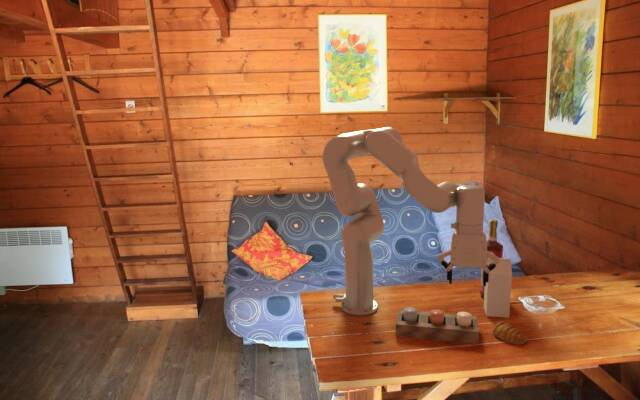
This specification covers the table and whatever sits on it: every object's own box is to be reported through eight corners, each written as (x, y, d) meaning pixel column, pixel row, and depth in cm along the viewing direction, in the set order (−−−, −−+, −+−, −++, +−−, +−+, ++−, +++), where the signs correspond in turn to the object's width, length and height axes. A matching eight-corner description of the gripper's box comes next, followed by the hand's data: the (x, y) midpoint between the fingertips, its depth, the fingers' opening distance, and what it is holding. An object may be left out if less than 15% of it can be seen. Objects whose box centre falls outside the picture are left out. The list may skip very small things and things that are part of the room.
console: (395, 336, 146) (395, 324, 145) (398, 320, 155) (398, 309, 154) (478, 344, 140) (478, 331, 139) (476, 327, 150) (476, 316, 149)
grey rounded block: (402, 324, 148) (403, 312, 147) (403, 318, 152) (404, 306, 151) (416, 326, 147) (416, 314, 146) (417, 319, 151) (417, 307, 150)
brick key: (429, 327, 146) (429, 315, 145) (429, 320, 150) (430, 308, 149) (443, 328, 145) (444, 316, 144) (443, 321, 149) (444, 310, 148)
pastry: (531, 341, 141) (532, 330, 140) (517, 349, 138) (517, 337, 137) (504, 329, 149) (505, 317, 148) (490, 335, 145) (490, 324, 144)
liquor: (476, 297, 170) (480, 222, 164) (481, 290, 177) (485, 216, 170) (497, 301, 167) (502, 224, 160) (502, 294, 173) (506, 219, 166)
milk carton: (509, 318, 155) (512, 262, 151) (486, 316, 156) (489, 261, 152) (505, 308, 162) (508, 255, 157) (483, 307, 163) (486, 254, 159)
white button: (456, 329, 144) (457, 317, 143) (456, 323, 148) (456, 311, 147) (471, 330, 143) (471, 318, 142) (470, 324, 147) (471, 312, 146)
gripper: (438, 230, 137) (437, 286, 141) (502, 232, 133) (499, 290, 137) (438, 223, 144) (437, 276, 148) (499, 225, 140) (496, 280, 144)
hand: (467, 283), depth 142 cm, fingers open, 9 cm apart
